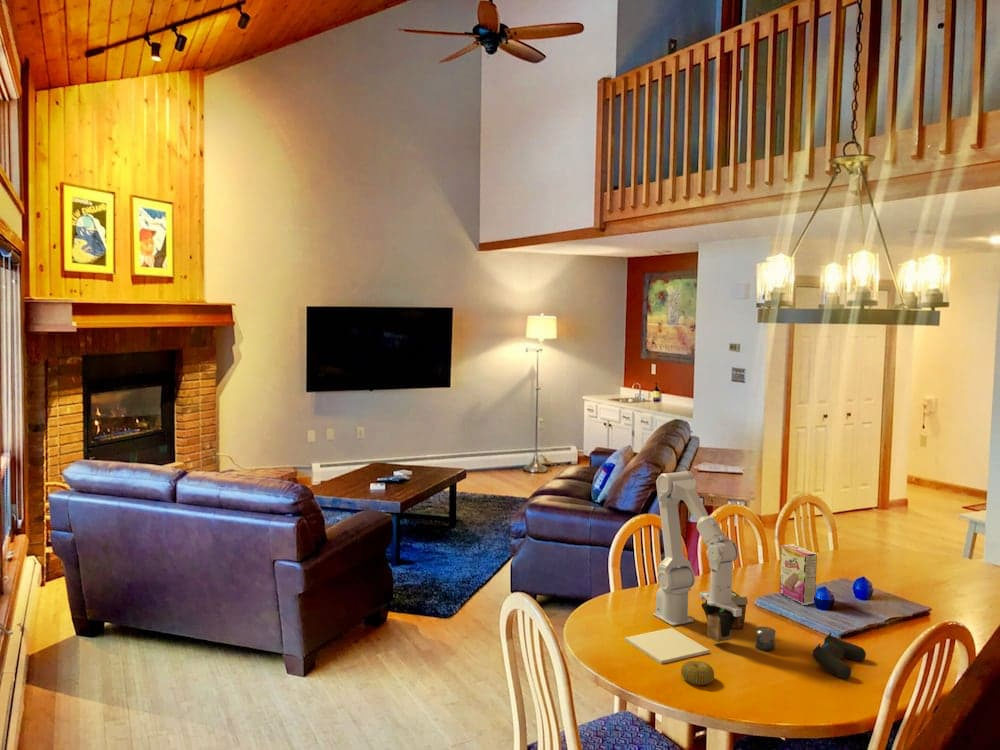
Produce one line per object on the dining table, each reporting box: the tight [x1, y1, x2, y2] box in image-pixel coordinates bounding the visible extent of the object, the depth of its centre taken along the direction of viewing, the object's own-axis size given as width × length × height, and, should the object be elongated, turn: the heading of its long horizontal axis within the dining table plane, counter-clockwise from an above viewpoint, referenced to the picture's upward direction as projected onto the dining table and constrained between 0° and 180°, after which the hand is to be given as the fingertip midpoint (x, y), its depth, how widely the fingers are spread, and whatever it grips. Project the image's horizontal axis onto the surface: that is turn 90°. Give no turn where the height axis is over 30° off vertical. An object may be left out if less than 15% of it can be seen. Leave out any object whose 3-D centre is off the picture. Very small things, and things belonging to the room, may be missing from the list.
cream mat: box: [624, 627, 710, 665], centre depth 216 cm, size 16×16×1 cm
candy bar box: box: [779, 543, 818, 603], centre depth 251 cm, size 11×5×16 cm, turn 22°
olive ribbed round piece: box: [680, 660, 715, 686], centre depth 196 cm, size 8×4×8 cm
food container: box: [719, 590, 749, 631], centre depth 231 cm, size 12×6×10 cm, turn 21°
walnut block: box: [706, 613, 732, 643], centre depth 217 cm, size 4×4×6 cm
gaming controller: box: [812, 632, 867, 680], centre depth 205 cm, size 17×6×10 cm
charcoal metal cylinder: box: [754, 626, 776, 653], centre depth 215 cm, size 5×5×5 cm
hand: (719, 632), depth 217 cm, fingers closed on walnut block, 4 cm apart
